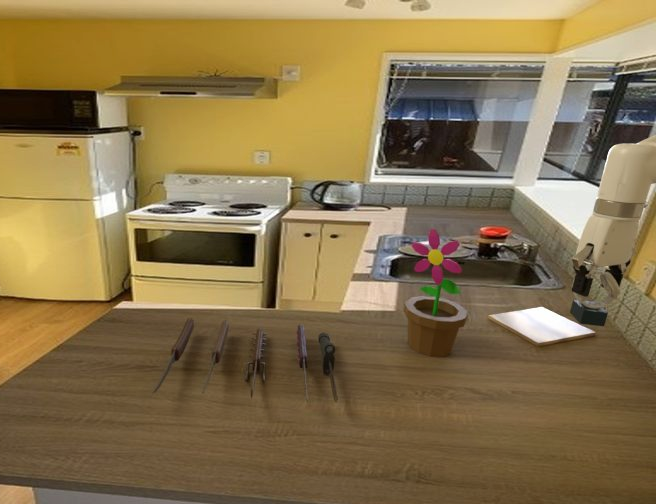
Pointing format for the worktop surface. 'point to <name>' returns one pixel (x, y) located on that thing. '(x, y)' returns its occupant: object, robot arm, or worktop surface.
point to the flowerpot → (435, 303)
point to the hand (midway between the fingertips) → (594, 291)
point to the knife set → (256, 354)
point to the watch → (594, 310)
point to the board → (541, 326)
